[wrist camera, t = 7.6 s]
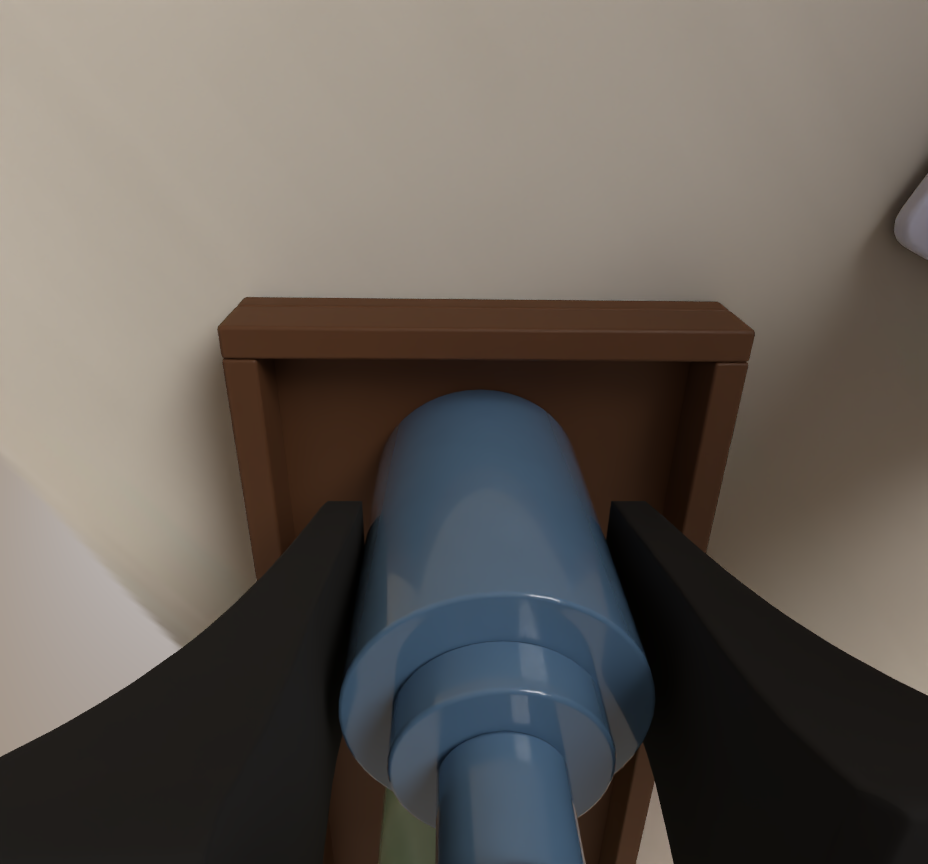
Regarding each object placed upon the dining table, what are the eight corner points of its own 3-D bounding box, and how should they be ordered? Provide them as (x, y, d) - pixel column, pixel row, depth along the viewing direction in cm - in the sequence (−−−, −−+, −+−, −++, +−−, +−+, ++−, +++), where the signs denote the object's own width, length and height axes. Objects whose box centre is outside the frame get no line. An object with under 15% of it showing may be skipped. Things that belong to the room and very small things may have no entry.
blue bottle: (372, 387, 13) (264, 855, 5) (586, 388, 13) (799, 848, 5) (381, 559, 15) (311, 1094, 7) (568, 559, 15) (703, 1083, 7)
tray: (243, 295, 13) (215, 326, 11) (719, 300, 13) (757, 330, 12) (328, 918, 23) (319, 982, 21) (599, 913, 23) (610, 976, 21)
